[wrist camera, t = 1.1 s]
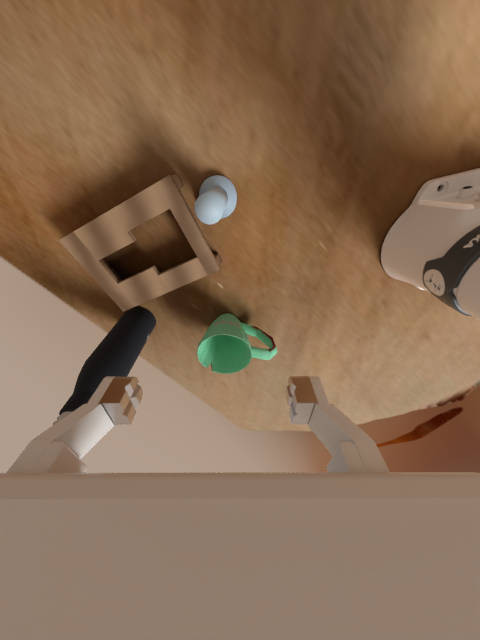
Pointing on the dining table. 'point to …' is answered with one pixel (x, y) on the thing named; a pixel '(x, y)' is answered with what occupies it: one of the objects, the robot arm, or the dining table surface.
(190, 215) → the keyhole board
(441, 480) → the robot arm
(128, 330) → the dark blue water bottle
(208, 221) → the peg
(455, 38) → the dining table surface
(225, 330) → the mug
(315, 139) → the dining table surface
